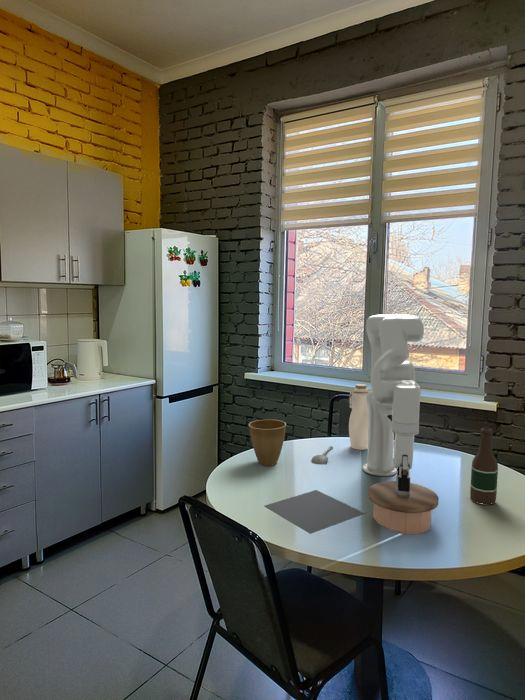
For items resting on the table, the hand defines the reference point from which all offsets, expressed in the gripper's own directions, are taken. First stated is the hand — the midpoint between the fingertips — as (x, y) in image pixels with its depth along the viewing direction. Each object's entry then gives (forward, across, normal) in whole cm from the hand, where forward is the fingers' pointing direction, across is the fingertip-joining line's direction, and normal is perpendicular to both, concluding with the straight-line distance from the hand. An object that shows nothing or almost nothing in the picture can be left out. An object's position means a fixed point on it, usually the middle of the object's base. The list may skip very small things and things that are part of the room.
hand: (403, 485), depth 141 cm
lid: (+4, 0, 0) cm, 4 cm away
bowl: (+11, 0, 0) cm, 11 cm away
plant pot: (+11, -39, -51) cm, 65 cm away
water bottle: (+11, -69, -16) cm, 72 cm away
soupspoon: (+12, -54, -29) cm, 62 cm away
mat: (+11, 0, -26) cm, 28 cm away
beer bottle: (+11, -22, +26) cm, 36 cm away
